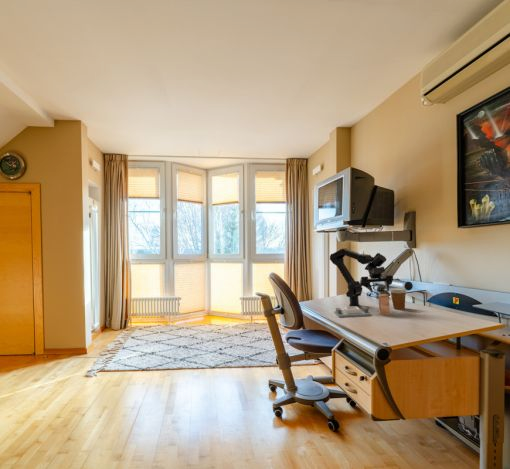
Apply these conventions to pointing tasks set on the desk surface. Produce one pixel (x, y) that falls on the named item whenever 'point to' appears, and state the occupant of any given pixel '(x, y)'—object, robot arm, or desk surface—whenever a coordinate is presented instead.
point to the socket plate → (352, 312)
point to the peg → (384, 304)
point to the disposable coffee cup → (398, 297)
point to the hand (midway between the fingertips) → (380, 291)
